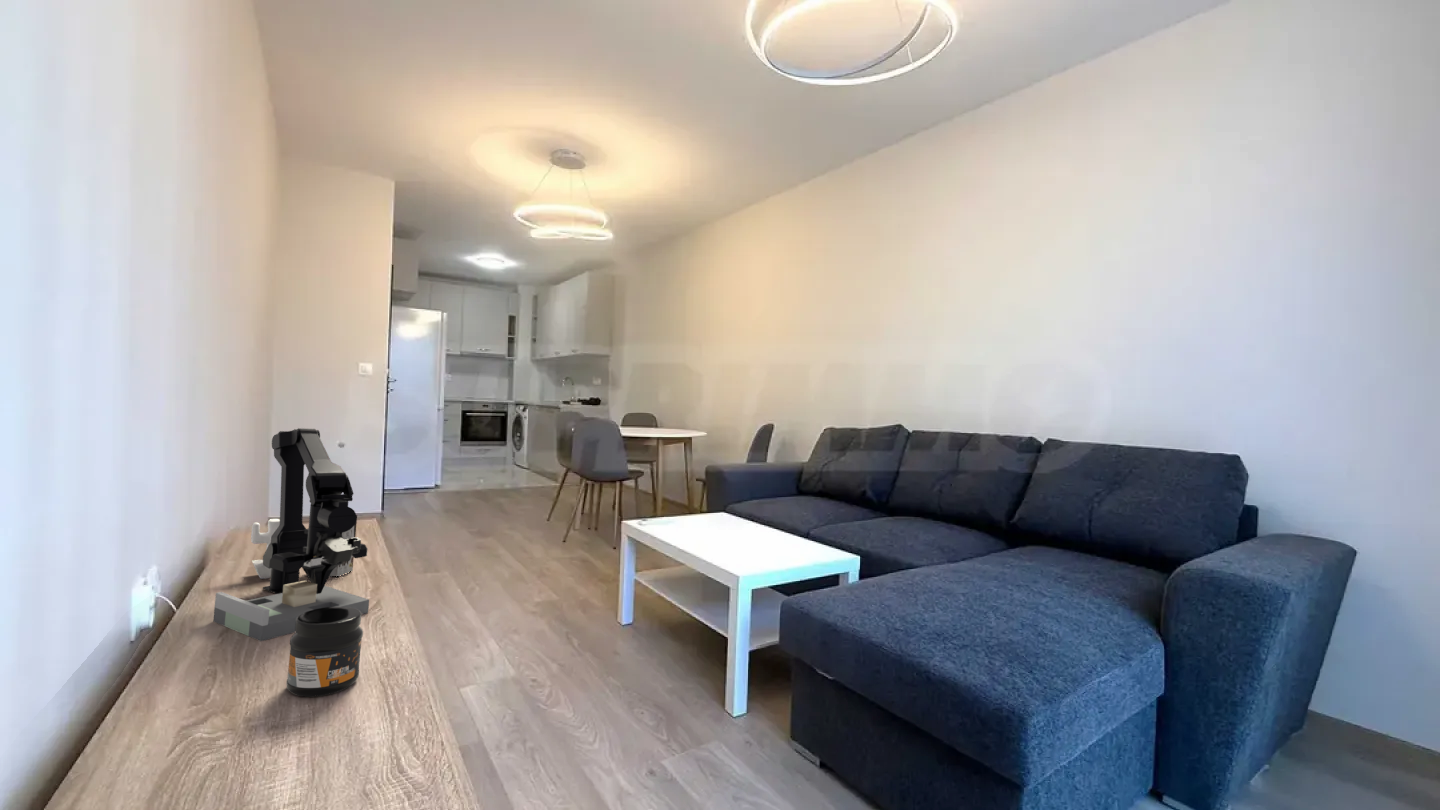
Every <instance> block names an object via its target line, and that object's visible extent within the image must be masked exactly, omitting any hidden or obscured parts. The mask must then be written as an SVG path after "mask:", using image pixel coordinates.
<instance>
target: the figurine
mask: <svg viewBox="0 0 1440 810" xmlns="http://www.w3.org/2000/svg"><path fill="white" fill-rule="evenodd" d="M279 525H280V518H270V519H268V521H267V531H266V532H261V531H260V530H261V529H260V528H261V524H260V523H259V522H256V521H255V522H253V523H252V525H251V531H250V532H251V534H250V541H251V543H252V544H254V545H257V544H260V545H262V544H266V548H265V551H266V550H267V548H268V546H269V544H270V543H271V536H272V535H273V533H274V532H275V531H276V529H277V528H278V527H279ZM251 562H252V565H253V566H254V569H255V572H256V575H257V576H258V577H259V579H261V580H262V579H263V580H264V579H270V577H271V568H270V569H269V568H267V567H266V566H264V565H263V559H254V560H251Z"/></svg>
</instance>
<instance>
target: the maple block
mask: <svg viewBox="0 0 1440 810" xmlns="http://www.w3.org/2000/svg"><path fill="white" fill-rule="evenodd" d="M316 592H317V584H315V583H312V582H310V581H308V580H301V581H300V580H299V582H295V583H290V584H285V585H283V596H282V603H283V604H286V605H289V606H292V607H297V606H301V605H305V604H310V603H314V602H316Z"/></svg>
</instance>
